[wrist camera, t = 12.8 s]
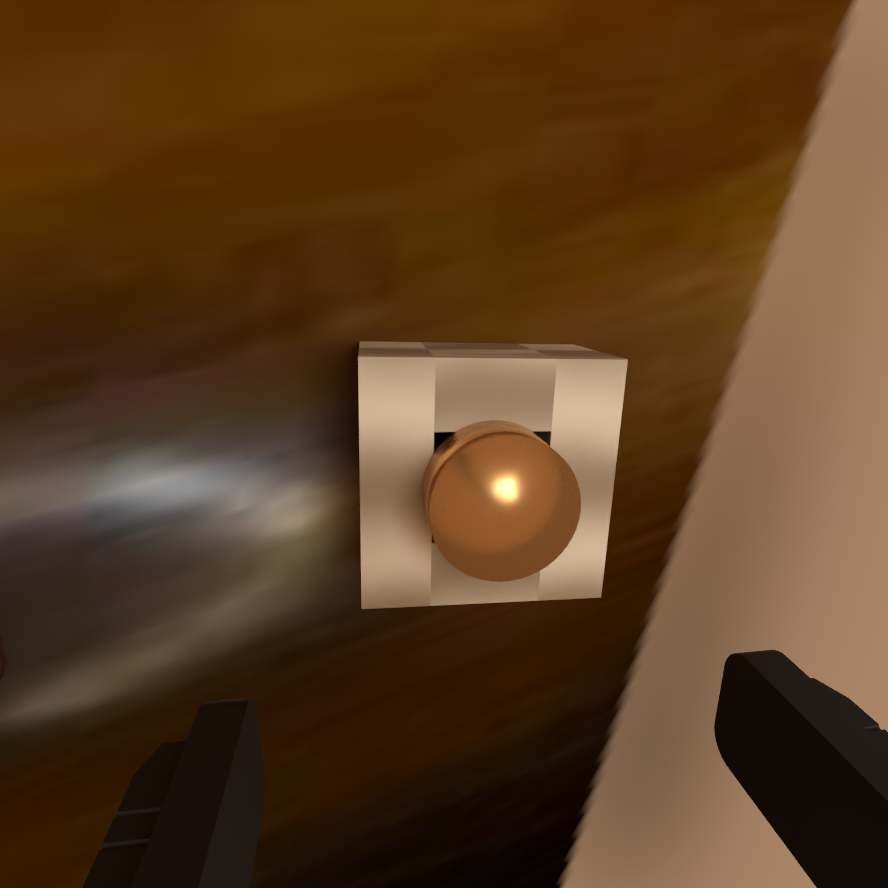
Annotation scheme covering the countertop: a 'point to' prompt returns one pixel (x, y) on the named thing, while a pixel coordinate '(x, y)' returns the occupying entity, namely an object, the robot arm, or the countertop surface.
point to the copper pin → (499, 500)
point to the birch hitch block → (455, 406)
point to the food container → (2, 657)
